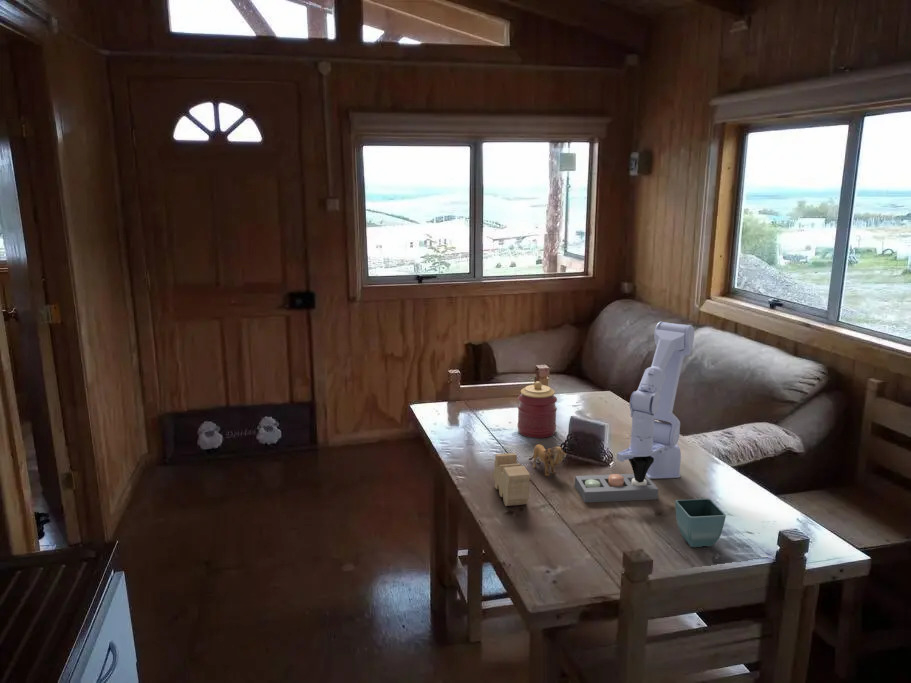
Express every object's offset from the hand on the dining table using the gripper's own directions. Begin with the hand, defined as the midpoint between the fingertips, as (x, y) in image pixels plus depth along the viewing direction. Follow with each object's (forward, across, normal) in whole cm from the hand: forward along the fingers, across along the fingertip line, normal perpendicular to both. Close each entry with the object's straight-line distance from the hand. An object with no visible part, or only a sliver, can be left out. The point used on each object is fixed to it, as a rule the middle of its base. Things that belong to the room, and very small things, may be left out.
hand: (639, 480), depth 188 cm
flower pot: (+3, +5, +27) cm, 28 cm away
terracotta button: (+2, +6, -2) cm, 7 cm away
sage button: (+3, +12, -4) cm, 13 cm away
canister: (+3, +2, -50) cm, 51 cm away
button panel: (+3, +6, -2) cm, 7 cm away
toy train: (+3, +33, -12) cm, 36 cm away
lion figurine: (+3, +16, -23) cm, 28 cm away
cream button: (+3, 0, 0) cm, 3 cm away
